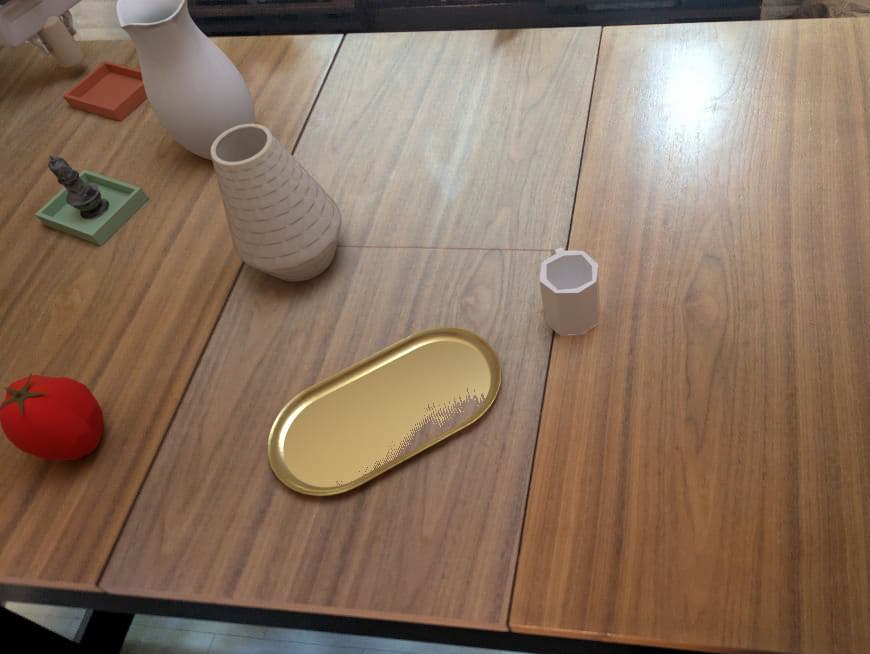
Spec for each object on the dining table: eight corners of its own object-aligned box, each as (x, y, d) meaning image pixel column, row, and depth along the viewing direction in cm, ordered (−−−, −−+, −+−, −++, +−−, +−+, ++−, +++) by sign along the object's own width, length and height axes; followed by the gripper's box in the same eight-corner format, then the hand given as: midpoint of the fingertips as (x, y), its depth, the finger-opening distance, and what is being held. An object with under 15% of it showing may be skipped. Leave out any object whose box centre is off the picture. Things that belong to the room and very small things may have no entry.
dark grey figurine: (77, 204, 130) (31, 151, 120) (109, 193, 131) (66, 139, 121) (79, 224, 127) (32, 172, 117) (112, 213, 128) (68, 160, 118)
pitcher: (281, 144, 135) (210, -3, 111) (199, 184, 131) (106, 41, 107) (236, 86, 146) (162, -59, 122) (159, 121, 142) (68, -21, 118)
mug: (608, 328, 105) (607, 284, 97) (552, 343, 105) (547, 301, 96) (583, 270, 111) (580, 225, 103) (531, 285, 111) (524, 240, 102)
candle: (64, 70, 149) (31, 24, 141) (54, 60, 152) (22, 14, 143) (88, 59, 151) (57, 12, 142) (78, 49, 153) (48, 2, 145)
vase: (232, 285, 117) (154, 174, 97) (285, 211, 125) (223, 96, 105) (322, 307, 112) (260, 197, 93) (372, 230, 120) (324, 113, 101)
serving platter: (526, 399, 100) (525, 393, 99) (298, 525, 93) (293, 520, 92) (466, 313, 109) (464, 307, 108) (254, 422, 102) (249, 417, 101)
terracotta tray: (70, 106, 148) (62, 95, 145) (112, 71, 153) (105, 60, 151) (120, 121, 143) (113, 110, 141) (162, 84, 149) (155, 73, 146)
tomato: (67, 492, 99) (-3, 448, 88) (29, 442, 104) (-42, 395, 93) (138, 436, 103) (80, 387, 92) (98, 391, 108) (38, 339, 97)
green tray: (44, 225, 129) (34, 214, 127) (93, 179, 134) (84, 169, 132) (101, 246, 125) (91, 235, 122) (149, 198, 130) (140, 187, 128)
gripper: (42, -54, 142) (85, 14, 154) (-39, 0, 133) (13, 68, 145) (64, -50, 140) (106, 19, 152) (-16, 5, 131) (35, 74, 143)
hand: (60, 43), depth 148 cm, fingers closed on candle, 5 cm apart
